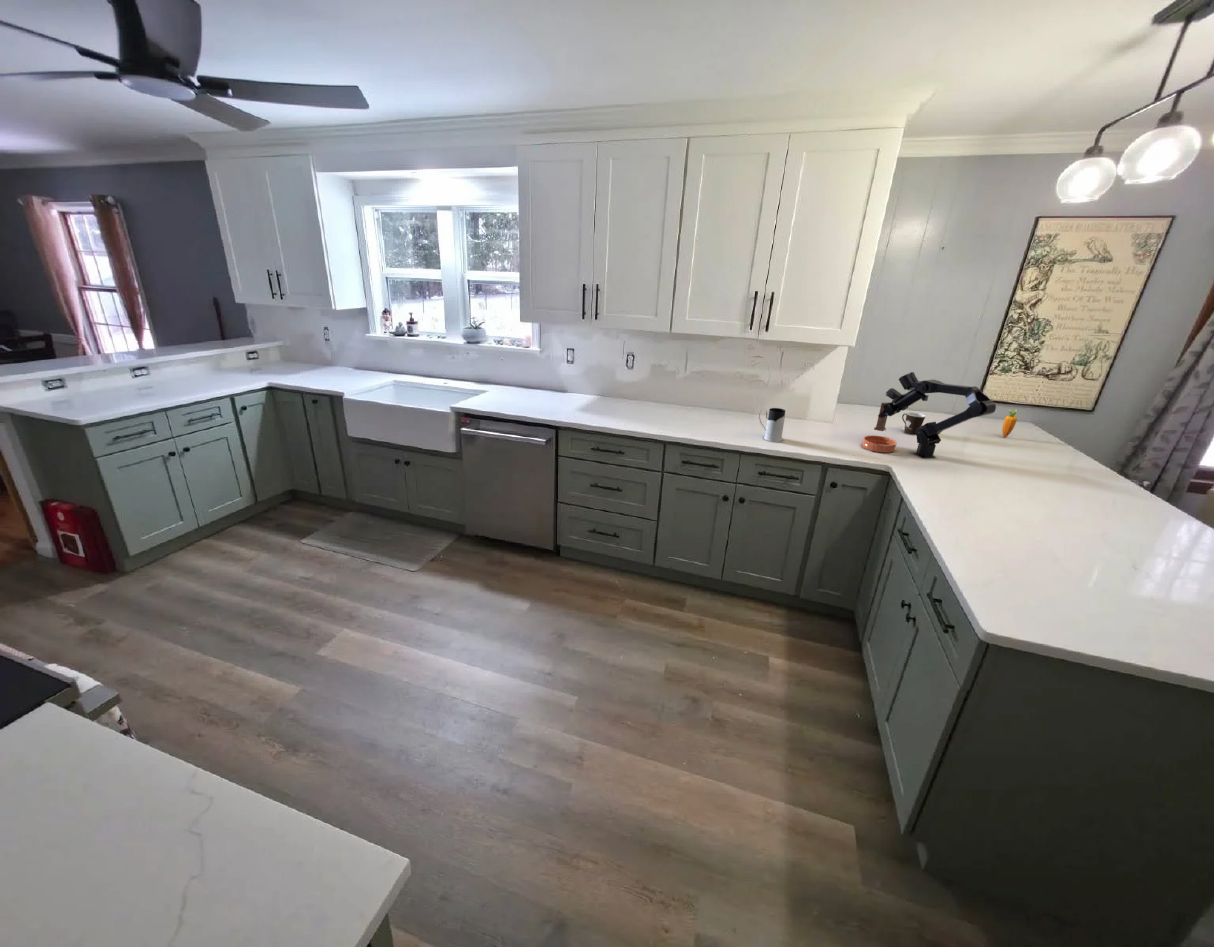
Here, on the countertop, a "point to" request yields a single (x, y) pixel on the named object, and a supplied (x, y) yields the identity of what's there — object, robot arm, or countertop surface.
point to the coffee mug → (913, 422)
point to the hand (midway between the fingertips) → (879, 415)
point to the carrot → (1009, 423)
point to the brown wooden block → (881, 420)
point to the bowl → (879, 444)
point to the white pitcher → (774, 424)
